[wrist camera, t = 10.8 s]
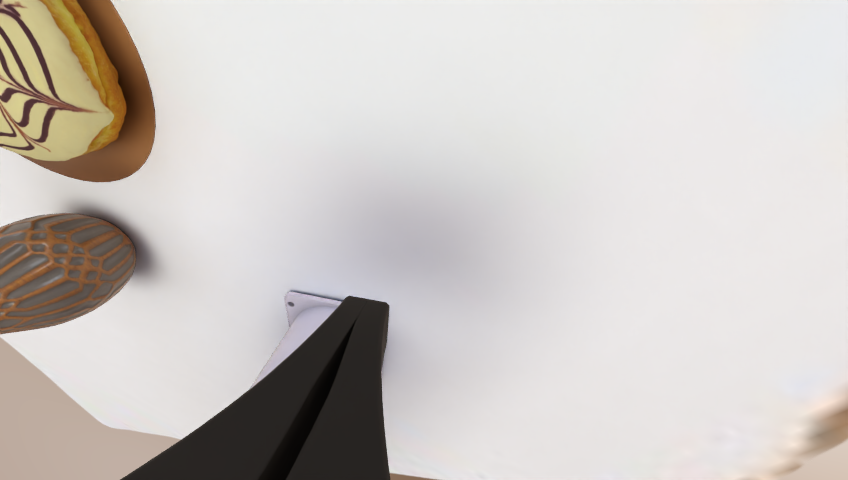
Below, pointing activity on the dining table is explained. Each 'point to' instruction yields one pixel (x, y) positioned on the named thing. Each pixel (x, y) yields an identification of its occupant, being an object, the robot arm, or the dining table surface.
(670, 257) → the dining table surface
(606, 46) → the dining table surface
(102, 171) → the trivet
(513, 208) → the dining table surface
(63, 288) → the vase
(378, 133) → the dining table surface
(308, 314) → the robot arm
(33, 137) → the decorated donut
